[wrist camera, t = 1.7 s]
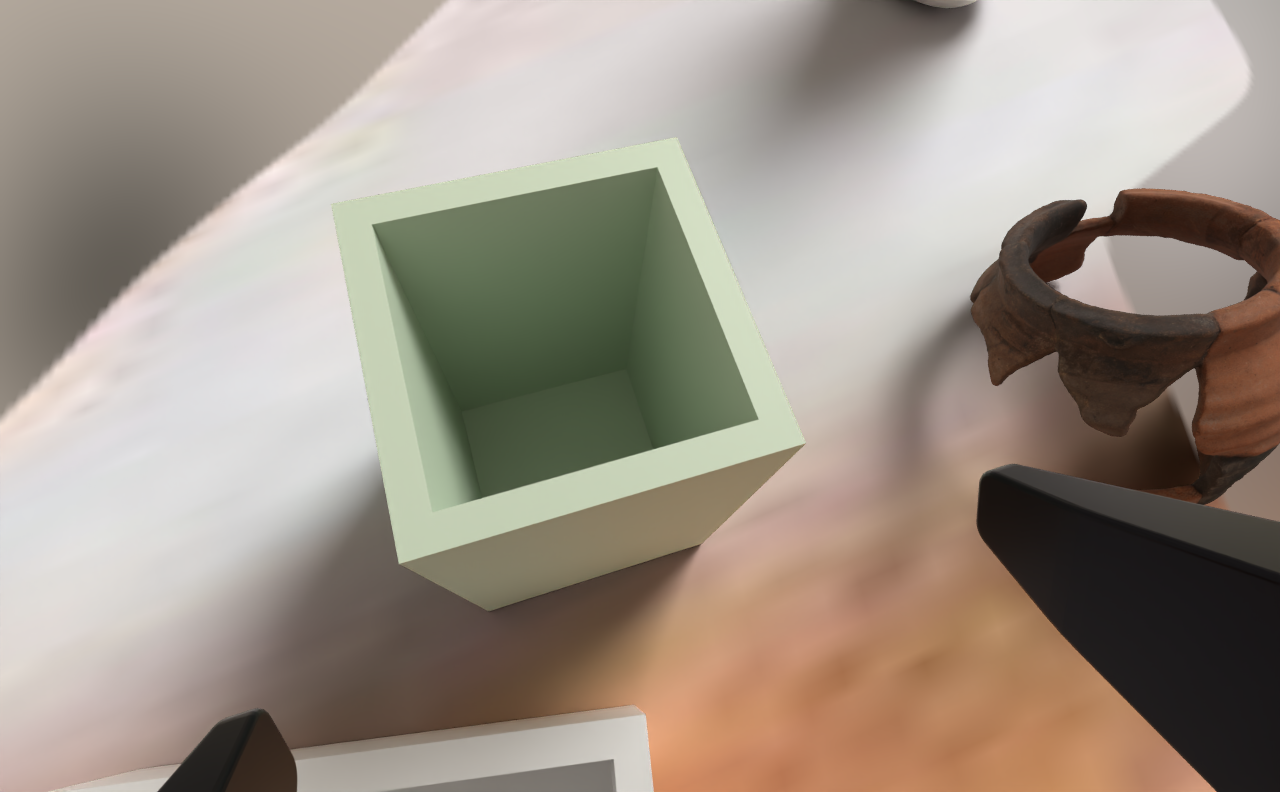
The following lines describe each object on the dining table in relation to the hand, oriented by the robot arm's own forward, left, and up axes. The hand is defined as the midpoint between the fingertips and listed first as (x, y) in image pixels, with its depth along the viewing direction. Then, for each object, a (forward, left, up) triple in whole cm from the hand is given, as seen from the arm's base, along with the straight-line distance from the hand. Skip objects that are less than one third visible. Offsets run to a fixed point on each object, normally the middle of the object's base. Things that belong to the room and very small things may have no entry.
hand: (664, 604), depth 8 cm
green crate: (+5, +1, -12) cm, 13 cm away
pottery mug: (+6, -18, -12) cm, 22 cm away
